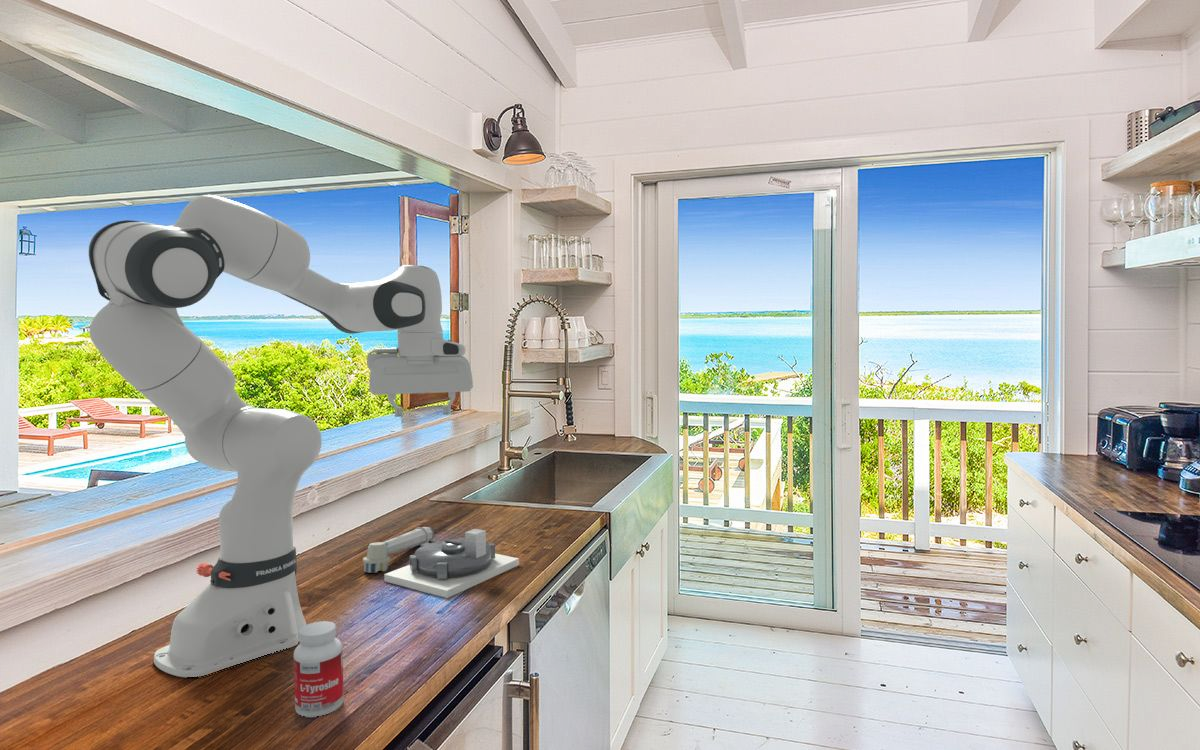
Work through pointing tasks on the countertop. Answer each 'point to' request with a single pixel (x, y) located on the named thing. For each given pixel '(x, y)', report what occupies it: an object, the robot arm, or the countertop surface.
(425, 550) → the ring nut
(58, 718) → the countertop surface
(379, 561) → the toothbrush head
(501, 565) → the base plate
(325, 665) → the pill bottle
